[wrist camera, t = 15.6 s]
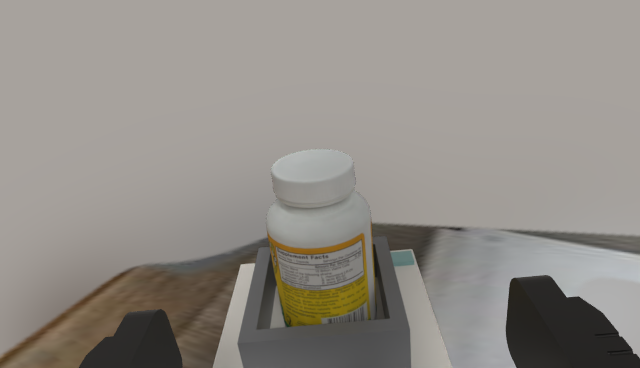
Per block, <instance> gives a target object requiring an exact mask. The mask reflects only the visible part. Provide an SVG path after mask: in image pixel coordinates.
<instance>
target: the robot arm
mask: <svg viewBox="0 0 640 368" xmlns="http://www.w3.org/2000/svg"><path fill="white" fill-rule="evenodd" d="M506 338H507V344H508V348H509V351H510V354H511V357H512V359H513V361H514V363H515V365H516V367H517V368H640V358H639V357H638V356H637V354H633V351H632V348H631V347H630V346H629V345H628V344H627V342H626V341H625V340H624V339H623V337H620V336H619V333H618V331H617V330H616V329H615V328H614V326H613V325H612V324H611V323H610V321H609V320H608V319H607V318H606V317H605V315H604V314H603V313H602V312H601V311H599V310H597V309H596V308H595V307H593V306H592V305H590V304H589V303H587V302H586V301H584V300H583V299H581V298H580V297H568V298H567V297H566V296H565V295H564V293H563V292H562V291H561V289H560V288H559V287H558V285H557V284H556V283H555V281H554V280H553V279H552V278H551V277H550V276H548V275H543V276H532V277H521V278H513V279H512V280H511V282H510V287H509V298H508V310H507V321H506ZM79 368H182V358H181V354H180V351H179V348H178V346H177V343H176V340H175V337H174V334H173V331H172V329H171V326H170V323H169V320H168V317H167V315H166V313H165V312H164V311H163V310H161V309H158V310H147V311H137V312H129V313H128V314H126V316H125V317H124V318H123V320H122V322H121V324H120V325H119V327H118V329H117V331H116V333H115V334H114V336H112V337H105V338H104V339H103V340H102V341H101V342H100V343H99V344H98V345H97V346H96V347H95V348H94V349H93V350H91V351H90V352H89V353H88V354H87V355H86V357H85V358H84V360H83V361H82V363H81V365H80V366H79Z"/></svg>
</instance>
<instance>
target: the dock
mask: <svg viewBox="0 0 640 368" xmlns="http://www.w3.org/2000/svg"><path fill="white" fill-rule="evenodd" d="M372 240H373V257H374V273H375V287H376V303H377V317H376V320H366V321H354V322H342V323H330V324H318V325H306V326H295V327H285V323H284V319H283V315H282V310H281V305H280V299H279V293H278V288H277V282H276V278H275V273H274V267H273V262H272V256H271V251H270V247H261V248H259V250H258V254H257V259H256V263H253V264H242V265H241V267H240V270H239V274H238V277H237V281H236V285H235V288H234V292H233V296H232V299H231V303H230V306H229V310H228V314H227V317H226V321H225V325H224V328H223V332H222V335H221V339H220V343H219V346H218V350H217V353H216V357H215V361H214V364H213V368H452V365H451V362H450V359H449V356H448V353H447V350H446V347H445V344H444V341H443V338H442V335H441V332H440V329H439V326H438V324H437V321H436V318H435V315H434V312H433V309H432V306H431V303H430V300H429V297H428V294H427V291H426V288H425V285H424V282H423V279H422V276H421V274H420V271H419V268H418V265H417V262H416V259H415V256H414V253H413V250H412V249H407V250H396V251H390V249H389V245H388V241H387V237H386V236H380V237H372Z"/></svg>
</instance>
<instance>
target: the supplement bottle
mask: <svg viewBox="0 0 640 368" xmlns="http://www.w3.org/2000/svg"><path fill="white" fill-rule="evenodd" d="M271 175H272V182H273V190H274V193H275V194H276V197H277V200H276V201H275V202H274V203H273V204H272V206H271V207H270V209H269V211H268V214H267V218H266V227H267V233H268V239H269V245H270V251H271V256H272V262H273V267H274V273H275V278H276V282H277V288H278V293H279V299H280V305H281V310H282V315H283V319H284V323H285V327H295V326H306V325H318V324H330V323H342V322H354V321H366V320H376V317H377V303H376V287H375V273H374V257H373V240H372V222H371V212H370V208H369V205H368V203H367V202H366V200H365V199H364V197H363V196H362V195H360V194H359V193H358V192H357V191H355V190H354V186H355V184H356V178H355V172H354V162H353V159H352V158H351V157H350V156H349V155H348V154H346V153H344V152H340V151H336V150H330V149H314V150H305V151H300V152H295V153H292V154H289V155H287V156H284V157H282V158H280V159H279V160H277V161H276V162H275V163H274V164H273V166H272V168H271Z"/></svg>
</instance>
